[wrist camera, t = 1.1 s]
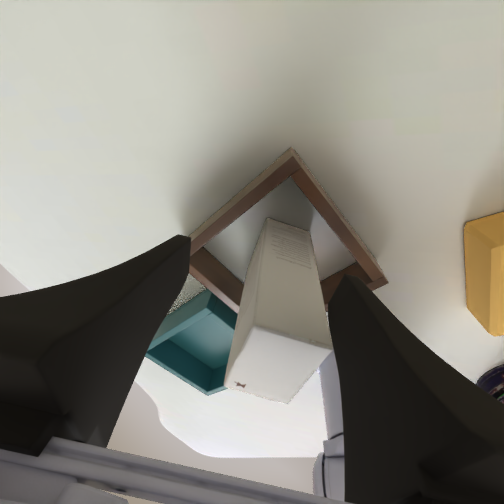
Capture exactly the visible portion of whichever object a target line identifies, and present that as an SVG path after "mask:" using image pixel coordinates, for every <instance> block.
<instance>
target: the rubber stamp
mask: <svg viewBox="0 0 504 504" xmlns="http://www.w3.org/2000/svg"><path fill="white" fill-rule="evenodd" d="M464 245H465V271H466V297H467V308H468V310H469V311H470V312H471V313H472V314H473V315H474V317H475V318H476V319H477V320H478V321H479V322H480V324H481V325H482V326H483V327H484V328H485V330H486V331H487V332H488V333H489V334H491V335H493V336H501V335H504V212H501V213H497V214H494V215H490V216H487V217H484V218H480V219H477V220H473V221H470V222H467V223H466V226H465V228H464Z"/></svg>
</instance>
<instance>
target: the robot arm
mask: <svg viewBox="0 0 504 504" xmlns="http://www.w3.org/2000/svg"><path fill="white" fill-rule="evenodd" d="M190 251H191V237H187V236H183V235H179V234H178V235H176V236H174V237H173V238H171V239H169V240H167V241H165V242H164V243H162V244H160V245H158V246H156V247H154V248H153V249H151V250H149V251H147V252H145V253H143V254H141V255H139V256H137V257H135V258H132V259H130V260H128V261H126V262H124V263H122V264H119V265H117V266H114V267H112V268H109V269H107V270H104V271H101V272H99V273H96V274H93V275H90V276H86V277H83V278H80V279H77V280H73V281H70V282H67V283H63V284H59V285H55V286H51V287H47V288H43V289H39V290H34V291H30V292H26V293H21V294H16V295H10V296H5V297H0V504H128V501H127V500H126V499H123V498H121V497H118V496H116V495H112V494H110V493H107V492H105V491H109V492H114V493H119V494H123V495H128V496H132V497H136V498H141V499H146V500H150V501H155V502H159V503H164V504H504V404H503V403H502V402H500V401H499V400H497V399H496V398H494V397H493V396H491V395H490V394H488V393H487V392H485V391H484V390H483V389H481V388H480V387H478V386H477V385H476V384H474V383H473V382H471V381H470V380H469V379H467V378H466V377H465V376H463V375H462V374H461V373H459V372H458V371H457V370H455V369H454V368H453V367H451V366H450V365H449V364H448V363H446V362H445V361H444V360H443V359H441V358H440V357H439V356H438V355H436V354H435V353H434V352H433V351H432V350H431V349H429V348H428V347H427V346H426V345H425V344H424V343H422V342H421V341H420V340H419V339H418V338H417V337H416V336H415V335H414V334H413V333H411V332H410V331H409V330H408V329H407V328H406V327H405V326H404V325H403V324H402V323H401V322H400V321H399V320H398V319H397V318H396V317H395V316H394V315H393V314H392V313H391V312H390V311H389V309H388V308H387V307H386V306H385V305H384V304H383V303H382V302H381V301H380V300H379V299H378V298H377V297H376V295H375V294H374V293H373V292H372V291H371V290H370V289H369V288H368V287H367V286H366V285H365V284H364V282H363V281H362V280H361V279H359V278H358V277H357V276H353V275H348V274H344V276H343V277H342V279H341V281H340V283H339V285H338V287H337V288H336V290H335V292H334V294H333V296H332V298H331V299H330V301H329V303H328V320H329V328H330V333H331V339H332V344H333V350H332V352H331V353H330V354H329V355H328V356H327V357H326V358H325V360H324V361H323V362H322V363H321V365H320V366H319V367H318V368H317V369H316V371H317V372H318V373H319V374H320V378H321V387H322V395H323V403H324V411H325V419H326V427H327V436H328V440H326V441H323V445H324V452H321V453H319V454H318V456H317V459H316V461H315V463H314V468H313V493H314V495H313V494H308V493H304V492H299V491H294V490H290V489H286V488H281V487H277V486H272V485H267V484H263V483H259V482H254V481H250V480H245V479H241V478H237V477H232V476H228V475H223V474H218V473H214V472H210V471H205V470H201V469H196V468H192V467H187V466H183V465H178V464H174V463H169V462H165V461H161V460H156V459H152V458H147V457H142V456H138V455H134V454H129V453H124V452H120V451H116V450H112V449H107V448H106V447H107V445H108V442H109V439H110V437H111V435H112V432H113V429H114V427H115V425H116V422H117V420H118V417H119V414H120V412H121V410H122V407H123V405H124V402H125V400H126V398H127V395H128V393H129V391H130V388H131V386H132V384H133V381H134V379H135V377H136V375H137V372H138V370H139V368H140V366H141V363H142V361H143V359H144V357H145V355H146V352H147V350H148V348H149V346H150V344H151V342H152V340H153V338H154V336H155V334H156V332H157V330H158V328H159V327H160V325H161V323H162V322H163V320H164V318H165V317H166V315H167V313H168V312H169V310H170V308H171V307H172V305H173V303H174V302H175V300H176V298H177V297H178V295H179V293H180V291H181V290H182V287H183V285H184V283H185V281H186V278H187V276H188V273H189V266H190ZM99 489H100V490H99ZM102 490H105V491H102Z"/></svg>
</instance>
